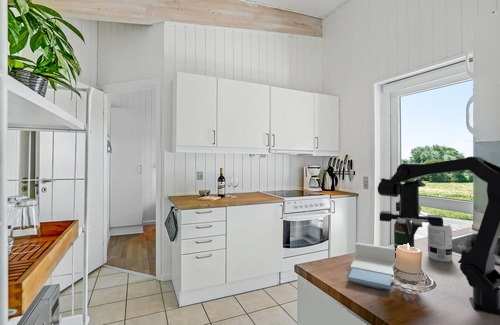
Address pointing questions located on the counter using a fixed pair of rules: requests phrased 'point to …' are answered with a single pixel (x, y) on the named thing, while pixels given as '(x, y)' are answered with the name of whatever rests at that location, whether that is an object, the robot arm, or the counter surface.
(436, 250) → the supplement can
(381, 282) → the panel
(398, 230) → the beer bottle
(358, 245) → the white stepped block
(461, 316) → the counter surface
